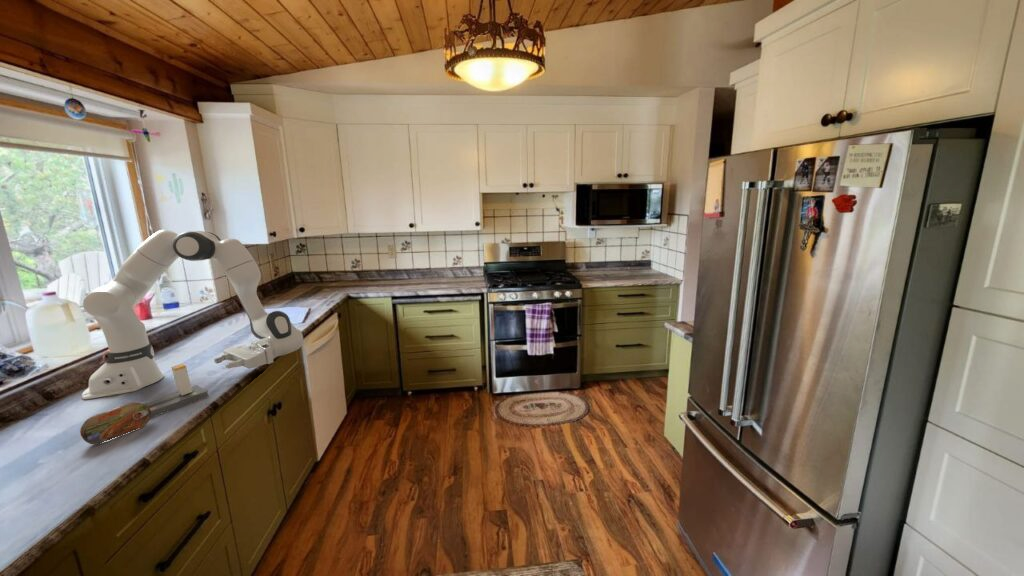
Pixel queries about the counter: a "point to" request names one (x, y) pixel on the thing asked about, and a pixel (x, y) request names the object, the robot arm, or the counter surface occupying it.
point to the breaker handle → (182, 379)
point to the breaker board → (175, 401)
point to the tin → (115, 422)
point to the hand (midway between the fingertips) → (220, 363)
